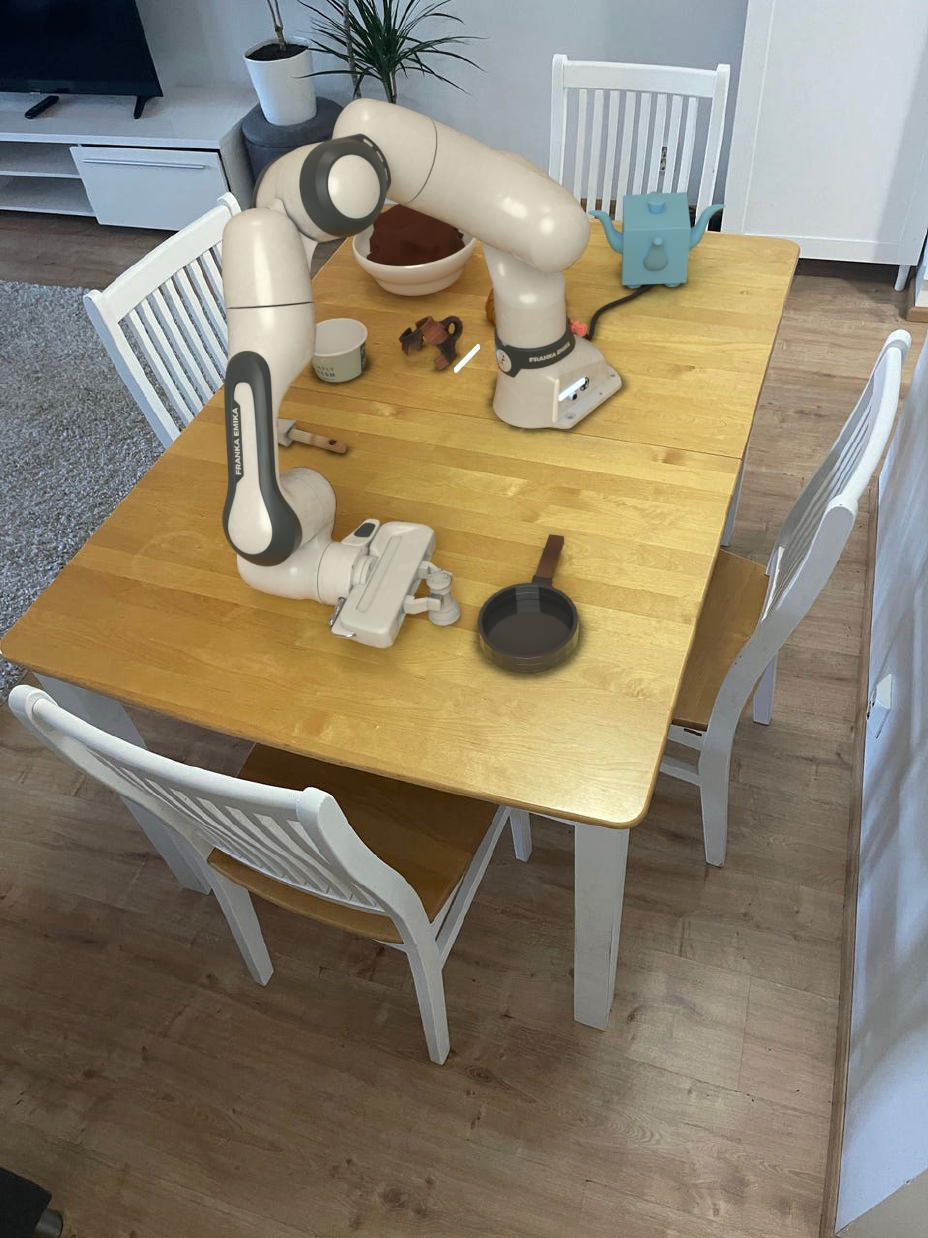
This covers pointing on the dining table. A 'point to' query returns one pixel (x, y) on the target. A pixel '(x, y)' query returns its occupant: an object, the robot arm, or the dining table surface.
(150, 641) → the dining table surface
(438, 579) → the rook chess piece
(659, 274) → the teakettle
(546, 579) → the pan handle
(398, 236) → the white bowl
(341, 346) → the food container
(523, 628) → the pan
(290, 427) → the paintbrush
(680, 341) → the dining table surface
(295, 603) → the dining table surface
